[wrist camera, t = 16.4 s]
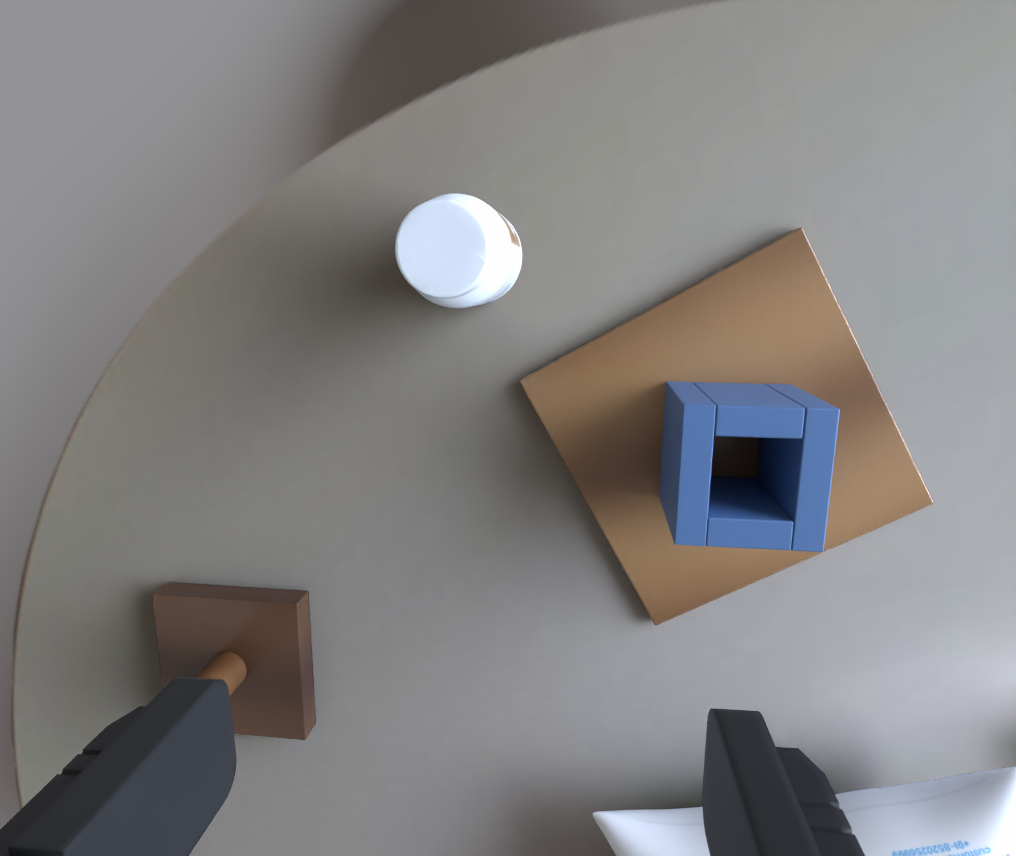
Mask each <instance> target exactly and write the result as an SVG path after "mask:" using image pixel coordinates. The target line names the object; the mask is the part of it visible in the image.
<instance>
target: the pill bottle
mask: <svg viewBox="0 0 1016 856" xmlns="http://www.w3.org/2000/svg"><path fill="white" fill-rule="evenodd" d="M395 255H396V260H397V264H398V266H399V269H400V271H401V273H402V275H403V276H404V278H405V279H406V280H407V282H408V283H409V284H410V285H411V286H412V287H414V288H415V289H416V290H417V291H418V292H419V293H420V294H421V295H422V296H423V297H424V298H426V299H427V300H429V301H431V302H433V303H435V304H437V305H440V306H443V307H448V308H467V307H472V306H477V305H482V304H487V303H490V302H492V301H495V300H496V299H498V298H500V297H501V296H503V295H504V294H505V293H506V292H508V290H509V289H510V288H511V287H512V286H513V284H514V283H515V281H516V279H517V277H518V275H519V272H520V269H521V263H522V248H521V243H520V240H519V237H518V235H517V233H516V231H515V229H514V228H513V226H512V225H511V223H510V222H509V221H508V220H507V219H506V218H505V217H503V216H502V215H501V214H500V213H498V212H497V211H496V210H495V209H493V208H492V207H491V206H489V205H488V204H486V203H485V202H483V201H481V200H480V199H477V198H475V197H473V196H469V195H465V194H445V195H441V196H438V197H435V198H433V199H431V200H429V201H427V202H424V203H422V204H420V205H418V206H417V207H415V208H414V209H413V210H411V211H410V212H409V213H408V214H407V216H406V217H405V218H404V220H403V221H402V223H401V224H400V227H399V229H398V232H397V235H396V241H395Z"/></svg>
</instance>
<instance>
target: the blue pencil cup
mask: <svg viewBox="0 0 1016 856" xmlns="http://www.w3.org/2000/svg"><path fill="white" fill-rule="evenodd" d="M839 413H840V409H838V408H836V407H835V406H833V405H831V404H829V403H827V402H825V401H823V400H821V399H819V398H817V397H815V396H813V395H811V394H809V393H807V392H805V391H803V390H801V389H799V388H797V387H795V386H793V385H791V384H766V385H765V384H749V383H709V382H694V383H692V382H673V381H667V382H666V385H665V402H664V419H663V436H662V453H661V470H660V487H659V498H660V502H661V505H662V508H663V511H664V514H665V517H666V520H667V523H668V526H669V529H670V532H671V535H672V538H673V541H674V544H675V545H689V546H705V545H706V546H712V547H731V548H751V549H770V550H792V551H808V552H823V551H824V543H825V534H826V525H827V517H828V508H829V500H830V491H831V482H832V474H833V465H834V456H835V448H836V439H837V430H838V422H839ZM714 435H715V436H724V437H754V438H760V446H759V457H758V468H757V479H756V478H753V477H728V476H711V467H712V454H713V441H714Z"/></svg>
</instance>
